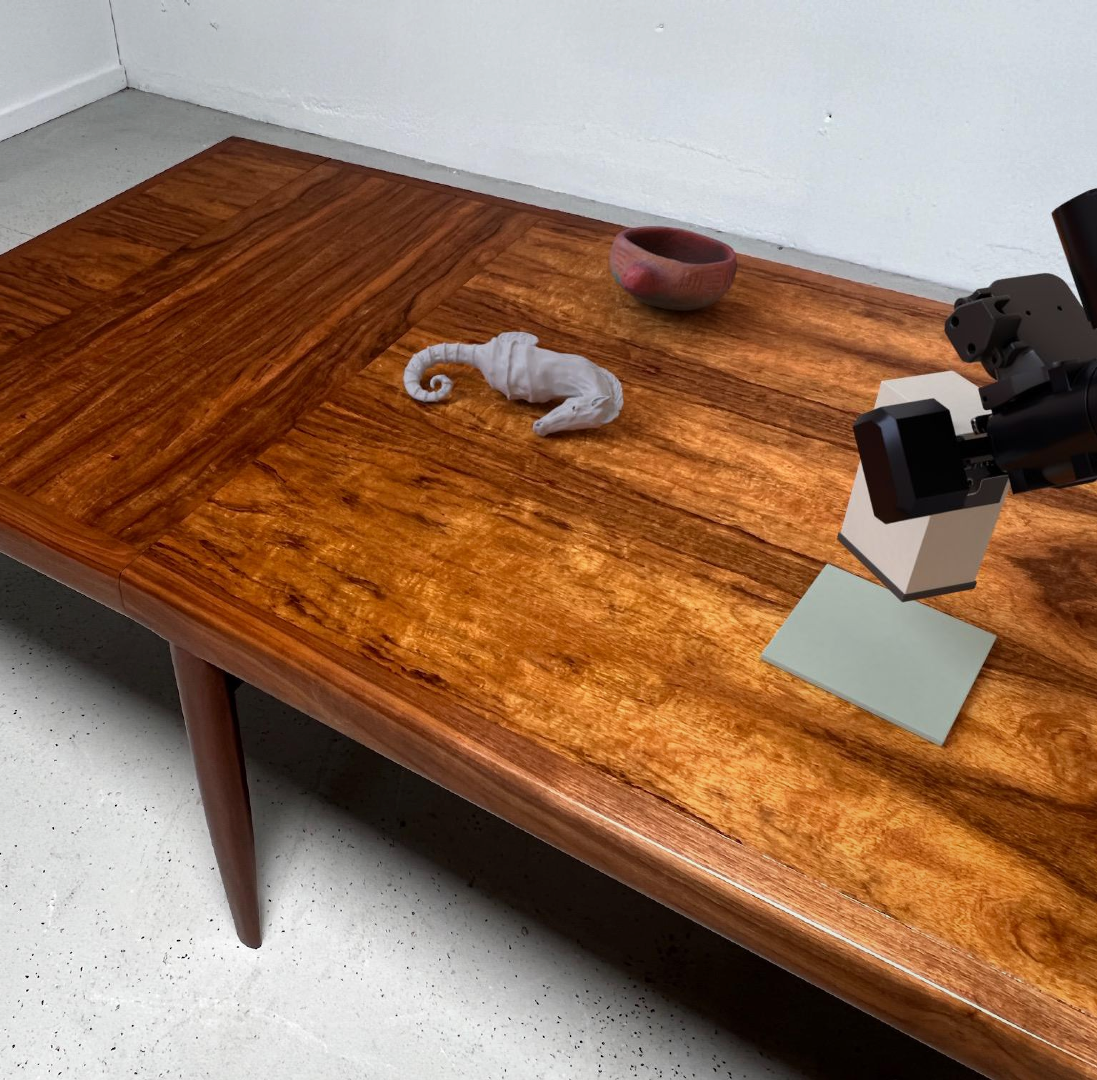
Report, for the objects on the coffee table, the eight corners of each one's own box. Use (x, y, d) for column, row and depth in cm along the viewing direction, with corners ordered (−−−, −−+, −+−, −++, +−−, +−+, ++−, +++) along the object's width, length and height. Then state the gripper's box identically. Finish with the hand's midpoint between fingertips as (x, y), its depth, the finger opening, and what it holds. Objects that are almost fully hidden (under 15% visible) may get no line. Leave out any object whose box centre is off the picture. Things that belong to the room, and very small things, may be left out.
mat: (994, 640, 73) (997, 635, 73) (941, 747, 66) (943, 742, 66) (825, 568, 79) (827, 563, 79) (759, 658, 72) (761, 653, 72)
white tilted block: (904, 527, 73) (953, 369, 66) (975, 589, 67) (1037, 423, 60) (836, 539, 72) (878, 380, 65) (902, 603, 66) (957, 436, 59)
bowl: (600, 272, 116) (611, 202, 111) (719, 279, 115) (735, 208, 110) (607, 345, 104) (619, 270, 99) (740, 353, 103) (760, 278, 98)
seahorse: (388, 414, 93) (622, 414, 88) (406, 315, 98) (627, 310, 93) (398, 449, 97) (622, 451, 92) (416, 352, 103) (627, 349, 98)
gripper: (1242, 230, 54) (1008, 329, 70) (933, 274, 50) (757, 368, 66) (1302, 440, 53) (1051, 493, 69) (991, 501, 49) (798, 543, 65)
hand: (916, 470), depth 67 cm, fingers closed on white tilted block, 5 cm apart
